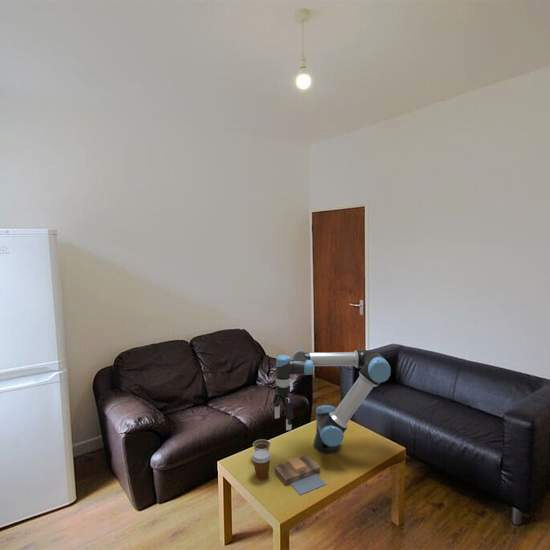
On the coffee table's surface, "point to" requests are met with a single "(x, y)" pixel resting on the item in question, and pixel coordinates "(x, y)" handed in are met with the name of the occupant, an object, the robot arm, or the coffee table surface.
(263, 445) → the clear plastic cup
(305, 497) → the coffee table surface
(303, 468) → the orange brown flat block
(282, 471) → the brown flat slab
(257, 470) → the disposable coffee cup
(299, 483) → the mat
